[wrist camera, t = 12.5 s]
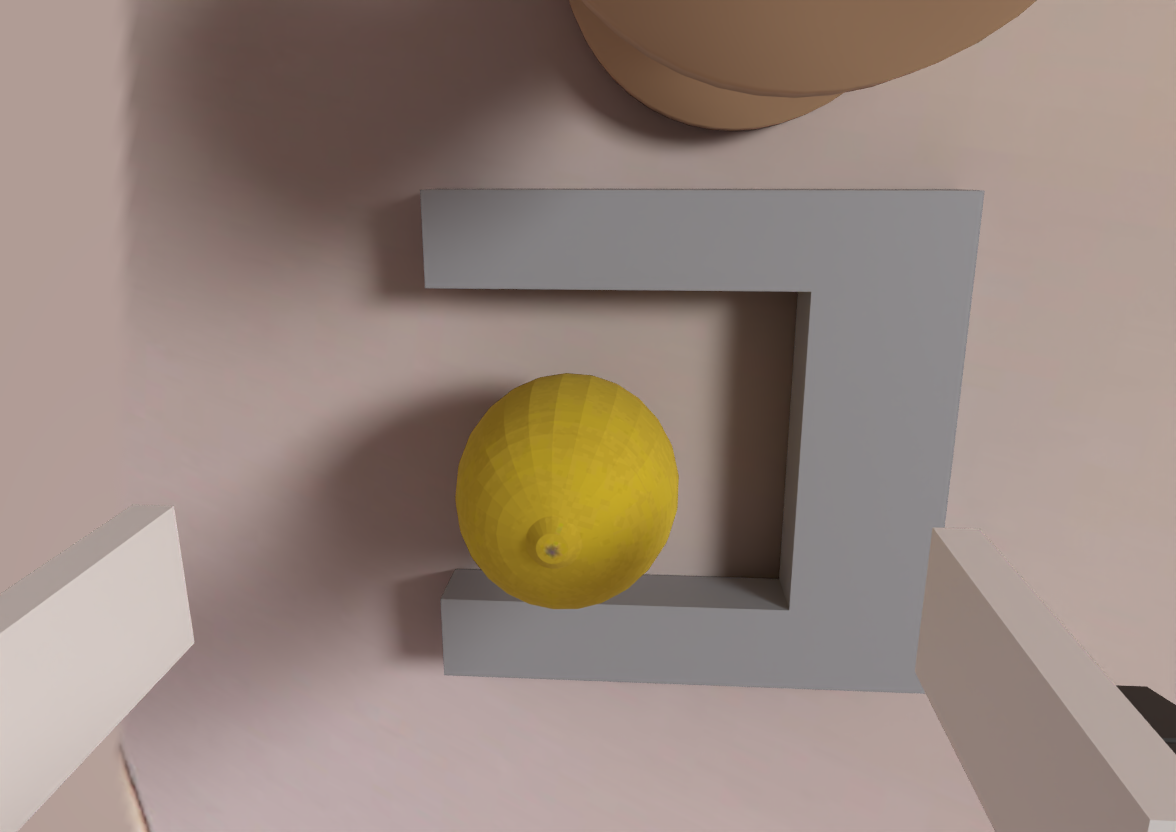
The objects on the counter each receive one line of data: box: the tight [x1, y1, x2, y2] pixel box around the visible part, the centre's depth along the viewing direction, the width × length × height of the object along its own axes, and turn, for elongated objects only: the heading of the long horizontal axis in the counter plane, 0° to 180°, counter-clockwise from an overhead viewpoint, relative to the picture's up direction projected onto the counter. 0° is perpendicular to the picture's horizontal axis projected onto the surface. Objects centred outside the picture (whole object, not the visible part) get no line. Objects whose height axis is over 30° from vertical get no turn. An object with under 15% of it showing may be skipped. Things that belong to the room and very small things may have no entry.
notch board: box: [420, 189, 985, 694], centre depth 24 cm, size 14×14×2 cm
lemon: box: [455, 373, 679, 609], centre depth 22 cm, size 6×6×8 cm
